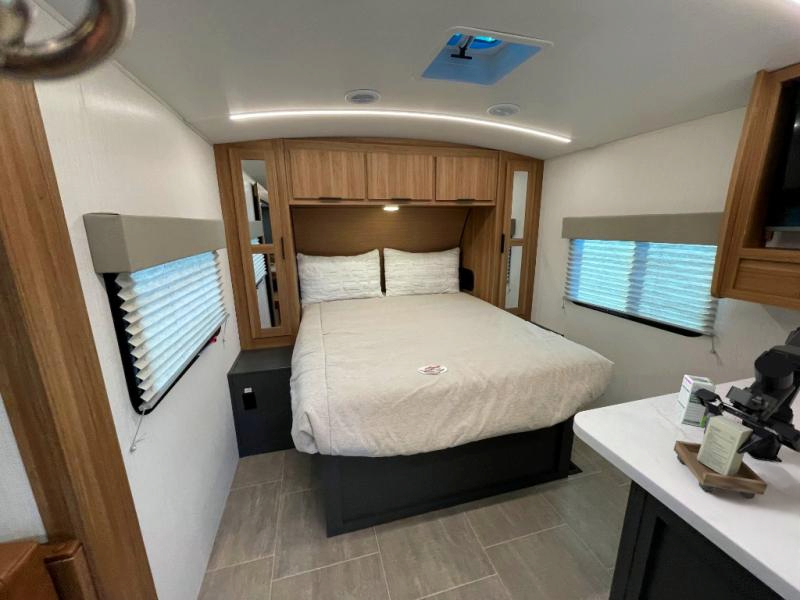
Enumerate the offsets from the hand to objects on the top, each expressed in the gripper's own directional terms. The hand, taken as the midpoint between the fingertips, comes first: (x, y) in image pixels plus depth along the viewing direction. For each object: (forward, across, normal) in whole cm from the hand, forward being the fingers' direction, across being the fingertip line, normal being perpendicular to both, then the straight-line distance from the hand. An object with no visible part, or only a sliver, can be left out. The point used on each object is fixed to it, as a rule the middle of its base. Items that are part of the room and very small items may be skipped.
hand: (720, 443), depth 75 cm
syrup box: (-8, -18, +24) cm, 30 cm away
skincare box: (+4, 0, +6) cm, 7 cm away
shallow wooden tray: (+7, 0, +8) cm, 11 cm away
